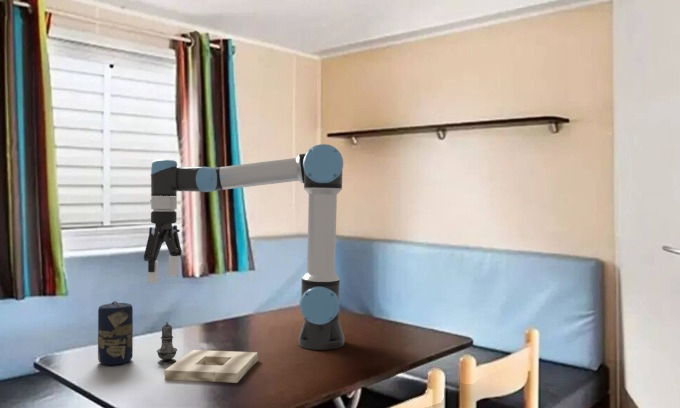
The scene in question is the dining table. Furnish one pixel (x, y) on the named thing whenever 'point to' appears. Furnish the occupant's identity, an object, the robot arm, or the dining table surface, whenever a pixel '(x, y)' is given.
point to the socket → (212, 366)
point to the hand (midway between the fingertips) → (163, 279)
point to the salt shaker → (166, 346)
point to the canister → (115, 333)
